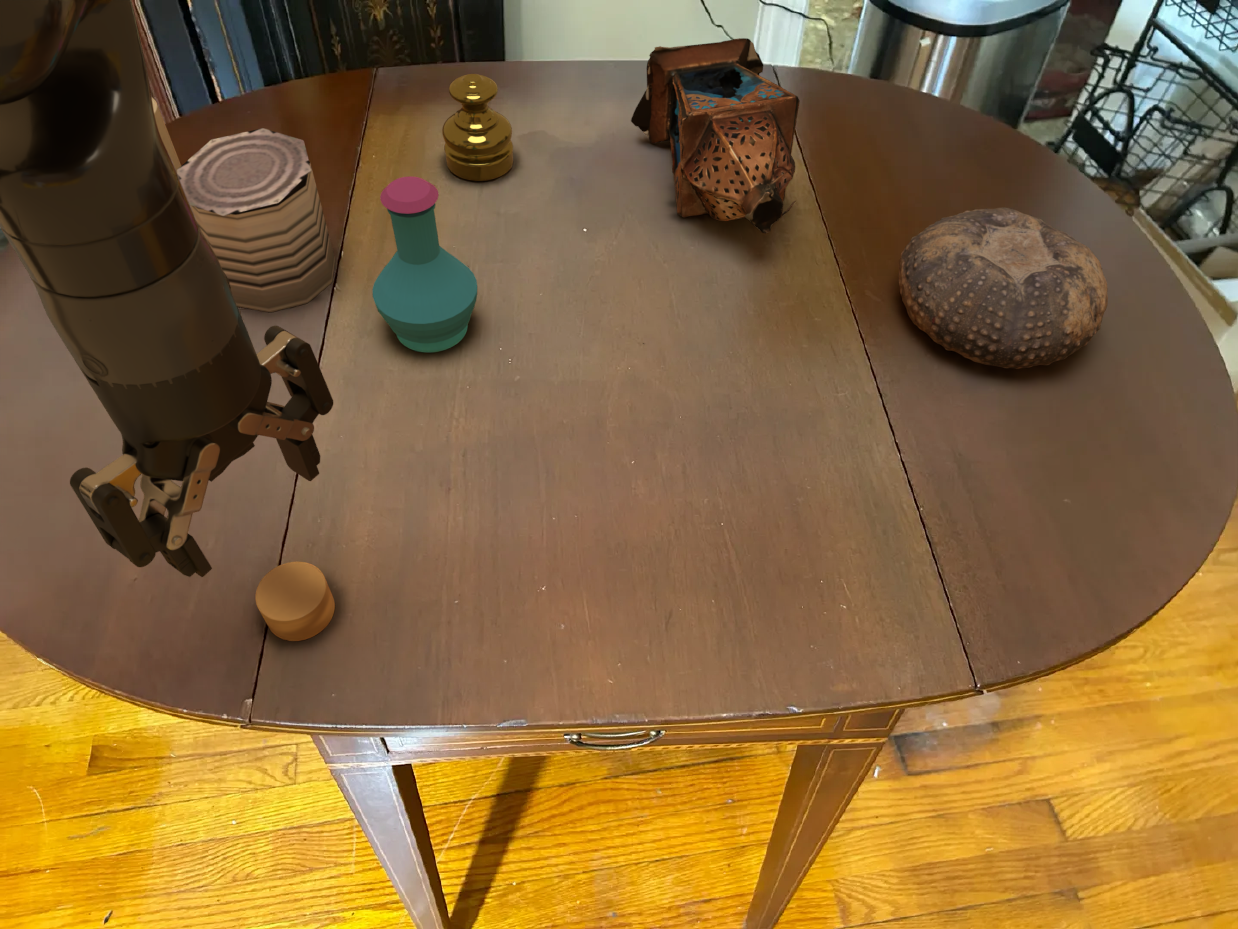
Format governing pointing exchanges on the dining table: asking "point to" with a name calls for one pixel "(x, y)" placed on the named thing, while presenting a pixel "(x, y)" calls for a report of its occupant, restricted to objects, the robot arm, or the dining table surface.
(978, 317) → the sea urchin shell
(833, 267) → the dining table surface
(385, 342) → the dining table surface
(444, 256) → the perfume bottle
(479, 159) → the brass weight
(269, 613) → the tan short cylinder
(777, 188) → the lantern
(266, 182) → the can
